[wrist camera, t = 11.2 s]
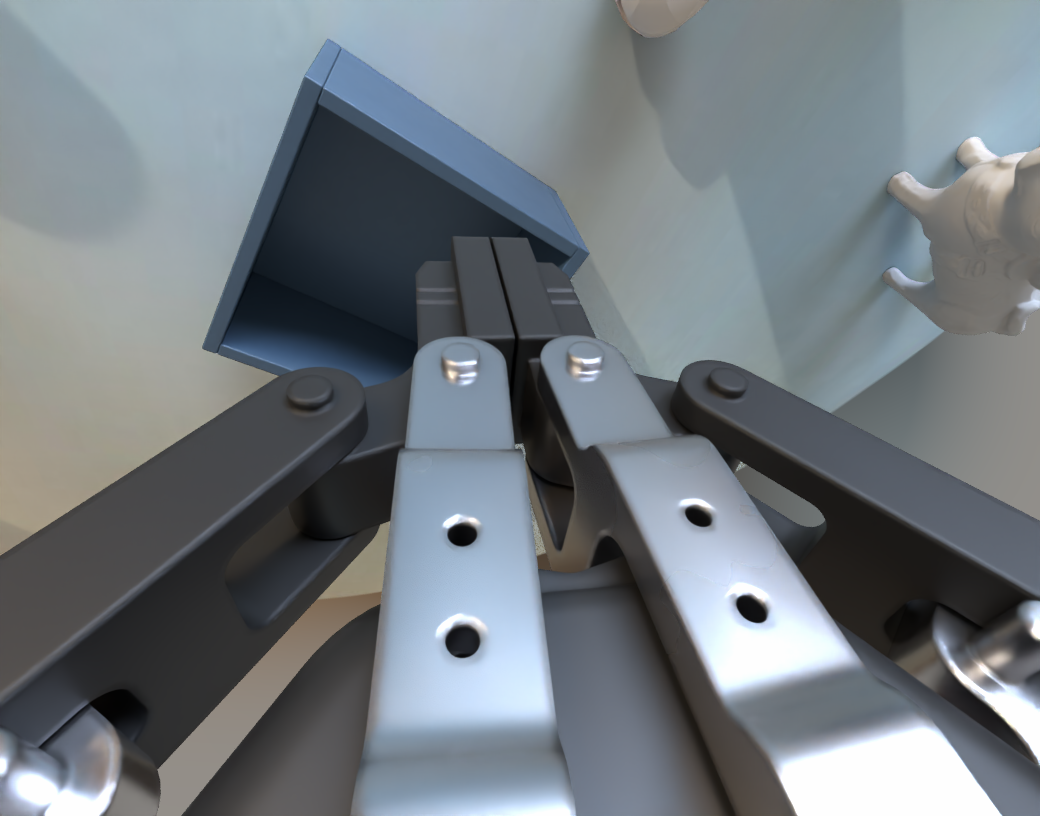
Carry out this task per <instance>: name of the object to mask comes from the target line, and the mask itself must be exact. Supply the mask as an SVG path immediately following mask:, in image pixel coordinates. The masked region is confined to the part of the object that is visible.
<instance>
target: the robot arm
mask: <svg viewBox="0 0 1040 816" xmlns="http://www.w3.org/2000/svg"><path fill="white" fill-rule="evenodd" d="M415 275H416V305H417V335H418V352H417V354H416V356H415V358H414V363H413V365H412V366H411V367H410V368H409V369H408V370H407V371H406V372H405V373H403V374H402V375H400V376H398V377H397V378H394V379H392V380H390V381H387V382H384V383H380V384H376V385H372V386H368V387H363V385H362V384H361V382H360V381H359V380H358V379H357V378H356V377H355V376H353V375H351V374H350V373H348V372H345V371H343V370H340V369H335V368H329V367H309V368H303V369H298V370H294V371H291V372H288V373H286V374H283V375H281V376H279V377H277V378H276V379H274V380H272V381H271V382H269V383H268V384H266V385H265V386H263V387H261V388H260V389H258V390H257V391H255V392H254V393H252V394H251V395H249V396H247V397H246V398H244V399H243V400H241V401H240V402H238V403H237V404H235V405H234V406H232V407H230V408H229V409H227V410H226V411H224V412H223V413H221V414H220V415H218V416H216V417H215V418H213V419H212V420H210V421H209V422H207V423H206V424H204V425H202V426H201V427H199V428H198V429H196V430H195V431H193V432H192V433H190V434H189V435H187V436H185V437H184V438H182V439H181V440H179V441H178V442H176V443H175V444H173V445H171V446H170V447H168V448H167V449H165V450H164V451H162V452H161V453H159V454H158V455H156V456H154V457H153V458H151V459H150V460H148V461H147V462H145V463H144V464H142V465H140V466H139V467H137V468H136V469H134V470H133V471H131V472H130V473H128V474H126V475H125V476H123V477H122V478H120V479H119V480H117V481H116V482H114V483H113V484H111V485H109V486H108V487H106V488H105V489H103V490H102V491H100V492H99V493H97V494H95V495H94V496H92V497H91V498H89V499H88V500H86V501H85V502H83V503H81V504H80V505H78V506H77V507H75V508H74V509H72V510H71V511H69V512H68V513H66V514H64V515H63V516H61V517H60V518H58V519H57V520H55V521H54V522H52V523H50V524H49V525H47V526H46V527H44V528H43V529H41V530H40V531H38V532H36V533H35V534H33V535H32V536H30V537H29V538H27V539H26V540H24V541H23V542H21V543H19V544H18V545H16V546H15V547H13V548H12V549H10V550H9V551H7V552H5V553H4V554H2V555H1V556H0V816H156V815H157V811H158V808H159V802H160V794H161V790H160V778H159V774H158V771H157V769H158V768H159V767H160V766H161V765H162V764H163V763H164V762H165V761H166V760H167V759H168V758H169V757H170V755H171V754H172V753H173V752H174V751H175V750H176V749H177V748H178V747H179V746H180V745H181V744H182V743H183V742H184V741H185V740H186V738H187V737H188V736H189V735H190V734H191V733H192V732H193V731H194V730H195V729H196V728H197V727H198V726H199V725H200V723H201V722H202V721H203V720H204V719H205V718H206V717H207V716H208V715H209V714H210V713H211V712H212V711H213V710H214V709H215V707H216V706H217V705H218V704H219V703H220V702H221V701H222V700H223V699H224V698H225V697H226V696H227V695H228V694H229V692H230V691H231V690H232V689H233V688H234V687H235V686H236V685H237V684H238V683H239V682H240V681H241V680H242V679H243V678H244V676H245V675H246V674H247V673H248V672H249V671H250V670H251V669H252V668H253V666H255V664H257V663H258V661H259V660H260V659H261V658H262V657H263V656H264V655H265V654H266V653H267V652H268V651H269V650H270V649H271V648H272V647H273V645H274V644H275V643H276V642H277V641H278V640H279V639H280V638H281V637H282V636H283V635H284V634H285V633H286V632H287V631H288V629H289V628H290V627H291V626H292V625H293V624H294V623H295V622H296V621H297V620H298V619H299V618H300V617H301V616H302V614H303V613H304V612H305V611H306V610H307V609H308V608H309V607H310V606H311V605H312V604H313V603H314V602H315V601H316V600H317V598H318V597H319V596H320V595H321V594H322V593H323V592H324V591H325V590H326V589H327V588H328V587H329V586H330V585H331V584H332V582H333V581H334V580H335V579H336V578H337V577H338V576H339V575H340V574H341V573H342V572H343V571H344V570H345V569H346V567H347V566H348V565H349V564H350V563H351V562H352V561H353V560H354V559H355V558H356V557H357V556H358V555H359V554H360V553H361V551H362V550H363V549H364V548H365V547H366V546H367V545H368V544H369V543H370V542H371V541H372V539H373V538H374V537H375V535H376V533H377V532H378V529H379V526H380V524H383V523H386V522H388V521H390V527H389V536H388V545H387V554H386V562H385V571H384V580H383V588H382V597H381V604H379V605H377V606H375V607H373V608H371V609H369V610H368V611H366V612H364V613H363V614H361V615H360V616H358V617H356V618H355V619H353V620H352V621H350V622H349V623H348V624H346V625H345V626H344V627H342V628H341V629H340V630H339V631H337V632H336V633H335V634H334V635H332V636H331V637H330V638H329V639H328V640H327V641H326V642H325V643H324V644H323V645H322V646H321V647H320V648H319V649H318V650H317V651H316V652H315V653H314V654H313V655H312V657H311V658H310V659H309V660H308V661H307V662H306V663H305V665H304V666H303V667H302V668H301V669H300V671H299V672H298V673H297V674H296V676H295V677H294V678H293V679H292V681H291V682H290V683H289V684H288V685H287V687H286V688H285V689H284V690H283V692H282V693H281V694H280V695H279V696H278V698H277V699H276V700H275V701H274V703H273V704H272V705H271V706H270V708H269V709H268V710H267V711H266V713H265V714H264V715H263V716H262V717H261V719H260V720H259V721H258V722H257V723H256V725H255V726H254V727H253V729H252V730H251V731H250V732H249V733H248V735H247V736H246V737H245V738H244V740H243V741H242V742H241V743H240V745H239V746H238V747H237V748H236V749H235V750H234V752H233V753H232V754H231V756H230V757H229V758H228V759H227V760H226V762H225V763H224V764H223V765H222V766H221V768H220V769H219V770H218V771H217V773H216V774H215V775H214V776H213V778H212V779H211V780H210V781H209V782H208V784H207V785H206V786H205V787H204V789H203V790H202V791H201V792H200V794H199V795H198V796H197V797H196V799H195V800H194V801H193V802H192V803H191V805H190V806H189V807H188V808H187V809H186V811H185V812H184V813H183V814H182V816H1040V521H1039V520H1037V519H1035V518H1033V517H1031V516H1029V515H1027V514H1025V513H1024V512H1022V511H1020V510H1017V509H1016V508H1014V507H1012V506H1010V505H1008V504H1006V503H1004V502H1002V501H1000V500H998V499H996V498H994V497H992V496H990V495H988V494H986V493H984V492H983V491H981V490H979V489H977V488H975V487H973V486H971V485H969V484H967V483H965V482H963V481H961V480H959V479H957V478H955V477H953V476H951V475H949V474H948V473H946V472H943V471H941V470H940V469H938V468H936V467H934V466H932V465H930V464H928V463H926V462H924V461H922V460H920V459H918V458H916V457H914V456H912V455H910V454H908V453H907V452H905V451H903V450H901V449H899V448H897V447H894V446H893V445H891V444H889V443H887V442H885V441H883V440H881V439H879V438H877V437H875V436H873V435H871V434H870V433H868V432H866V431H863V430H862V429H860V428H858V427H856V426H854V425H852V424H850V423H848V422H846V421H844V420H842V419H840V418H838V417H836V416H834V415H832V414H831V413H829V412H827V411H825V410H823V409H821V408H819V407H817V406H815V405H813V404H811V403H809V402H807V401H805V400H803V399H801V398H799V397H797V396H795V395H793V394H791V393H790V392H788V391H786V390H784V389H782V388H780V387H778V386H776V385H774V384H772V383H770V382H768V381H766V380H764V379H762V378H760V377H758V376H756V375H754V374H752V373H751V372H749V371H747V370H745V369H742V368H740V367H738V366H735V365H733V364H729V363H726V362H721V361H713V360H704V361H697V362H694V363H691V364H689V365H688V366H686V367H685V368H684V369H683V371H682V373H681V375H680V378H679V380H678V382H673V381H668V380H663V379H657V378H652V377H647V376H643V375H639V374H636V373H634V371H633V370H632V368H631V366H630V365H629V363H628V362H627V360H626V358H625V357H624V356H623V354H622V353H621V352H620V351H619V350H618V349H617V348H615V347H614V346H612V345H610V344H609V343H607V342H605V341H602V340H600V339H596V337H595V335H594V332H593V330H592V328H591V326H590V324H589V321H588V319H587V317H586V315H585V312H584V310H583V308H582V306H581V304H579V302H580V301H579V299H578V297H577V295H576V293H574V288H573V286H572V284H571V282H570V279H569V277H568V275H567V274H565V273H564V272H563V271H562V270H561V269H559V268H558V267H557V266H556V265H554V264H553V263H542V262H536V259H535V257H534V254H533V252H532V249H531V246H530V244H529V241H528V239H527V238H510V237H491V238H490V240H489V238H488V237H461V236H452V238H451V261H425V263H424V264H423V265H422V266H421V268H420V269H419V270H418V271H417V273H416V274H415ZM521 443H523V444H524V448H525V452H526V456H525V459H524V454H523V451H522V449H515V444H521ZM740 461H741V462H743V463H745V464H746V465H748V466H750V467H751V468H753V469H755V470H756V471H758V472H760V473H761V474H763V475H765V476H767V477H768V478H770V479H772V480H773V481H775V482H777V483H778V484H780V485H782V486H783V487H785V488H787V489H788V490H790V491H791V492H793V493H795V494H797V495H798V496H800V497H801V498H803V499H805V500H806V501H808V502H810V503H811V504H813V505H814V506H815V507H817V508H818V509H819V510H820V512H821V513H822V514H823V516H824V518H825V522H824V523H823V524H821V525H819V526H817V527H805V526H801V525H799V524H797V523H795V522H793V521H792V520H790V519H788V518H787V517H785V516H784V515H782V514H780V513H779V512H777V511H776V510H774V509H772V508H771V507H769V506H768V505H766V504H764V503H763V502H761V501H760V500H758V499H756V498H755V497H753V496H752V495H750V494H748V493H747V492H745V490H744V489H743V487H742V486H741V484H740V483H739V481H738V480H737V478H736V477H735V476H734V472H735V471H736V469H737V467H738V465H739V463H740ZM529 498H530V499H529ZM530 501H531V505H532V508H533V511H534V514H535V518H536V521H537V524H538V527H539V530H540V534H541V537H542V540H543V543H544V547H545V550H546V553H547V556H548V559H549V563H550V568H551V571H550V570H542V569H538V565H537V557H536V549H535V540H534V532H533V524H532V516H531V507H530Z"/></svg>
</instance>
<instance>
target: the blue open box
mask: <svg viewBox="0 0 1040 816" xmlns="http://www.w3.org/2000/svg"><path fill="white" fill-rule="evenodd" d="M452 236H461V237H488V238H489V240H490V238H491V237H510V238H527V239H528V241H529V244H530V246H531V249H532V252H533V254H534V257H535V259H536V262H542V263H553V264H554V265H556V266H557V267H558V268H559V269H561V270H562V271H563V272H564V273H565V274H567V275H568V277H569V279H571V277H572V276H573V275H574V273H575V272H576V271H577V269H578V268H579V267H580V266H581V264H582V263H583V262H584V260H585V259H586V258H587V257H588V255H589V254H590V253H589V251H588V249H587V247H586V245H585V244H584V242H583V240H582V238H581V236H580V234H579V233H578V231H577V229H576V227H575V225H574V224H573V222H572V220H571V218H570V216H569V214H568V213H567V211H566V209H565V207H564V205H563V204H562V202H561V200H560V198H559V196H558V194H557V193H556V191H555V190H553V189H552V188H550V187H549V186H547V185H546V184H544V183H543V182H541V181H540V180H538V179H537V178H535V177H534V176H532V175H531V174H529V173H528V172H526V171H525V170H523V169H522V168H520V167H519V166H517V165H516V164H514V163H513V162H511V161H510V160H508V159H507V158H505V157H504V156H502V155H501V154H499V153H498V152H496V151H495V150H493V149H492V148H490V147H489V146H487V145H486V144H485V143H483V142H482V141H480V140H479V139H477V138H476V137H474V136H473V135H471V134H470V133H468V132H467V131H465V130H464V129H462V128H461V127H459V126H458V125H456V124H455V123H453V122H452V121H450V120H449V119H447V118H446V117H444V116H443V115H441V114H440V113H438V112H437V111H435V110H434V109H432V108H431V107H429V106H428V105H426V104H425V103H423V102H422V101H420V100H419V99H417V98H416V97H415V96H413V95H412V94H410V93H409V92H407V91H406V90H404V89H403V88H401V87H400V86H398V85H397V84H395V83H394V82H392V81H391V80H389V79H388V78H386V77H385V76H383V75H382V74H380V73H379V72H377V71H376V70H374V69H373V68H371V67H370V66H368V65H367V64H365V63H364V62H362V61H361V60H359V59H358V58H356V57H355V56H353V55H352V54H350V53H349V52H348V51H346V50H345V49H341V47H340V46H339V45H337V44H336V43H334V42H333V41H331V40H330V39H327V40H326V42H325V44H324V45H323V47H322V48H321V50H320V52H319V53H318V55H317V56H316V58H315V60H314V61H313V63H312V65H311V66H310V68H309V69H308V71H307V73H306V74H305V76H304V78H303V81H302V83H301V86H300V89H299V91H298V94H297V97H296V99H295V102H294V105H293V107H292V110H291V113H290V115H289V118H288V121H287V123H286V126H285V129H284V131H283V134H282V136H281V139H280V142H279V144H278V147H277V150H276V152H275V155H274V158H273V160H272V163H271V166H270V168H269V171H268V174H267V176H266V179H265V182H264V184H263V187H262V190H261V192H260V195H259V198H258V200H257V203H256V205H255V208H254V211H253V213H252V216H251V219H250V221H249V224H248V227H247V229H246V232H245V235H244V237H243V240H242V243H241V245H240V248H239V251H238V253H237V256H236V259H235V261H234V264H233V266H232V269H231V272H230V274H229V277H228V280H227V282H226V285H225V288H224V290H223V293H222V296H221V298H220V301H219V304H218V306H217V309H216V312H215V314H214V317H213V320H212V322H211V325H210V327H209V330H208V333H207V335H206V338H205V341H204V343H203V346H202V349H204V350H207V351H210V352H213V353H218V354H219V355H221V356H224V357H227V358H230V359H233V360H235V361H238V362H241V363H244V364H247V365H250V366H253V367H255V368H258V369H261V370H264V371H267V372H270V373H272V374H275V375H278V376H281V375H283V374H286V373H288V372H291V371H294V370H298V369H303V368H309V367H329V368H335V369H340V370H343V371H345V372H348V373H350V374H351V375H353V376H355V377H356V378H357V379H358V380H359V381H360V382H361V384H362V385H363V387H368V386H372V385H376V384H380V383H384V382H387V381H390V380H392V379H394V378H397V377H398V376H400V375H402V374H403V373H405V372H406V371H407V370H408V369H409V368H410V367H411V366H412V365H413V363H414V358H415V356H416V354H417V352H418V335H417V305H416V275H415V274H416V273H417V271H418V270H419V269H420V268H421V266H422V265H423V264H424V263H425V261H451V238H452Z"/></svg>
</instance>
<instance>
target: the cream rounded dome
mask: <svg viewBox="0 0 1040 816" xmlns="http://www.w3.org/2000/svg"><path fill="white" fill-rule="evenodd" d="M708 1H709V0H615V2H616V5H617V7H618V9H619V12H620V14H621V16H622V18H623V20H624V21H625V22H626V23H627V24H628V25H629V26H630V27H631V28H632V29H633V30H635V31H636V32H637V33H639V34H640V35H641V36H644V37H645V38H650V37H662V36H664V35H667V34H669V33H672V32H674V31H676V30H677V29H678V28H679V27H680V26H682V25H683V24H684V23H685V22H686V21H687V20H689V19H690V18H691V17H693V16H694V15H695V14H696V13H697V12H698V11H699V10H700V9H701V8H702V7H703V6H704V5H705V4H706V3H707V2H708Z"/></svg>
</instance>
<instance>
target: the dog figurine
mask: <svg viewBox="0 0 1040 816" xmlns="http://www.w3.org/2000/svg"><path fill="white" fill-rule="evenodd" d="M956 160H957V161H959V162H960V163H961V164H962V165H963V166H964V167H965V169H966V170H967V171H966V172H965V173H964V174H963V175H962V176H961V177H960V178H959V179H957V180H956V181H955V182H954V183H953V184H952V185H950V186H948V187H946V188H940V189H931V188H928V187H925V186H923V185H921V184H919V183H918V182H917V181H916V180H915V179H914V178H913V176H912V175H911V174H909V173H907V172H905V171H903V172H901V173H899V174H897V175H894V176H893V177H892V178H891V180H890V182H889V184H888V187H887V192H888V193H889V194H890V195H892V196H893V197H894V198H895V199H896V200H897V201H899V202H900V203H901V204H902V205H903V206H904V207H905V208H906V209H907V210H908V211H910V213H911V214H912V215H914V216H915V217H916V218H917V219H918V220H919V221H920V222H921V224H922V228H923V232H924V235H925V236H926V237H927V238H928V239H929V240H931V243H930V248H929V250H930V255H931V258H932V267H933V276H934V280H932V281H930V282H926V283H924V282H917V281H913V280H911V279H909V278H907V277H905V276H904V274H903V273H902V272H901V271H900V270H898V269H897V268H895V267H893V268H890V269H888V270H886V271H885V272H884V274H883V281H884V282H885V283H886V284H888V285H889V286H891V287H892V288H893V289H894V290H896V291H897V292H898V293H899V294H901V295H902V296H903V297H904V298H906V299H907V300H908V301H910V302H911V303H912V304H913V305H914V306H915V307H917V308H918V309H919V310H920V311H921V312H923V313H924V314H925V315H926V316H927V317H928V318H929V319H930V320H931V321H932V322H933V323H935V324H936V325H937V326H938V327H940V328H941V329H943V330H944V331H947V332H949V333H953V334H961V335H977V334H982V333H987V332H990V331H992V332H995V333H998V334H1004V335H1010V336H1015V335H1018V334H1020V333H1021V332H1022V331H1023V330H1024V329H1025V326H1026V324H1025V323H1026V320H1027V318H1028V317H1029V315H1031V314H1032V313H1033V312H1035V311H1036V310H1038V309H1040V146H1039V147H1038V148H1036V149H1034V150H1032V151H1031V152H1023V153H1015V154H1010V155H1007V156H1003V157H998V156H996V155H994V154H993V153H991V152H990V151H988V149H987V148H986V147H985V145H984V143H983V142H982V140H981V139H980V138H978V137H971V138H968V139H966V140H965V141H964V142H963V143H962V144H961V145H960V147H959V149H958V151H957V154H956Z"/></svg>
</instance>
